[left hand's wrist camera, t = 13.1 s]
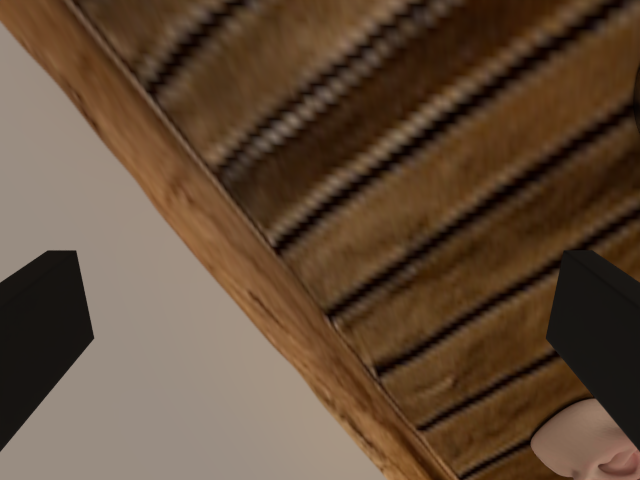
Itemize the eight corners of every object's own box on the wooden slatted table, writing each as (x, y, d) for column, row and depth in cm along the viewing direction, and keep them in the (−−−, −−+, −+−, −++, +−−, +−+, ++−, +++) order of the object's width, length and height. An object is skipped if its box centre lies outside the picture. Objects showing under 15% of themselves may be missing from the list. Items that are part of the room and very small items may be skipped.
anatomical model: (531, 490, 47) (596, 406, 43) (515, 458, 50) (574, 378, 46) (639, 525, 48) (711, 447, 45) (616, 492, 52) (681, 418, 48)
